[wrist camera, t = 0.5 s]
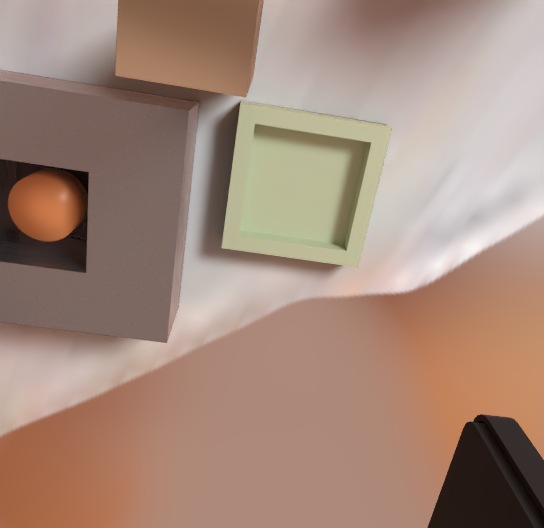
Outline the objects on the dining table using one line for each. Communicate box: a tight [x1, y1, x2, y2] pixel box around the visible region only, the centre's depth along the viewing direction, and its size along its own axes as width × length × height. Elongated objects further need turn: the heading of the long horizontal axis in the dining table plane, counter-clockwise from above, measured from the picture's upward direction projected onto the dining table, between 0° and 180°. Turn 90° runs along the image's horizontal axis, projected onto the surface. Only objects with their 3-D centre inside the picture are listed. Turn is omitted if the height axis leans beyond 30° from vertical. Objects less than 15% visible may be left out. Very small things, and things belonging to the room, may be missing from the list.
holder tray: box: [221, 101, 392, 267], centre depth 32 cm, size 9×9×2 cm
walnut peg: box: [115, 0, 263, 97], centre depth 22 cm, size 4×4×16 cm
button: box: [8, 168, 88, 242], centre depth 31 cm, size 4×4×2 cm
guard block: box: [0, 70, 199, 343], centre depth 31 cm, size 14×16×5 cm
